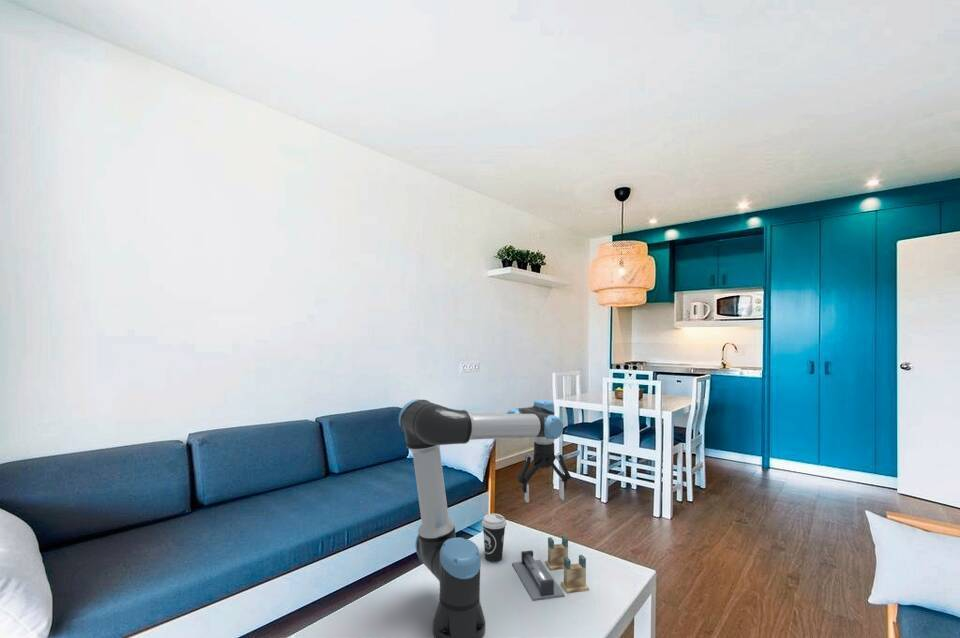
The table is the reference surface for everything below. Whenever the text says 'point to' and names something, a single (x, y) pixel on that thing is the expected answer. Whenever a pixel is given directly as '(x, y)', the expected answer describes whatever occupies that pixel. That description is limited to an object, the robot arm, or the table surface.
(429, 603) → the table surface
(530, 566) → the rail
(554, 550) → the post far
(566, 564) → the post near
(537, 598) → the pad
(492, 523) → the coffee cup
